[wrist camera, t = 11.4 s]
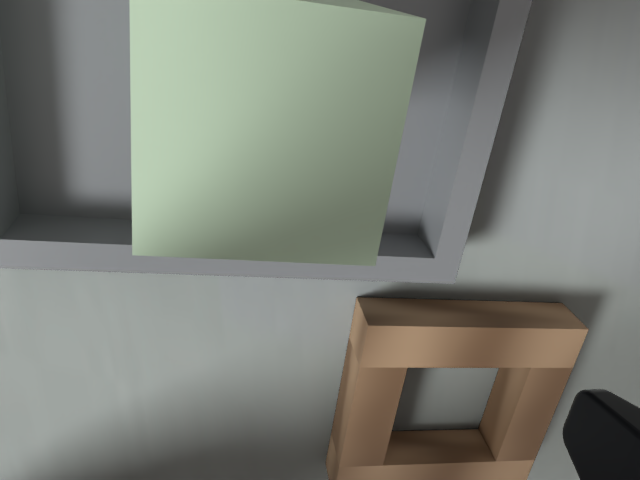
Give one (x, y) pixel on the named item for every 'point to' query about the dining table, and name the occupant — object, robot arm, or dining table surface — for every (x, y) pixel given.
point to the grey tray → (115, 142)
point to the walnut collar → (450, 352)
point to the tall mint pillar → (266, 127)
